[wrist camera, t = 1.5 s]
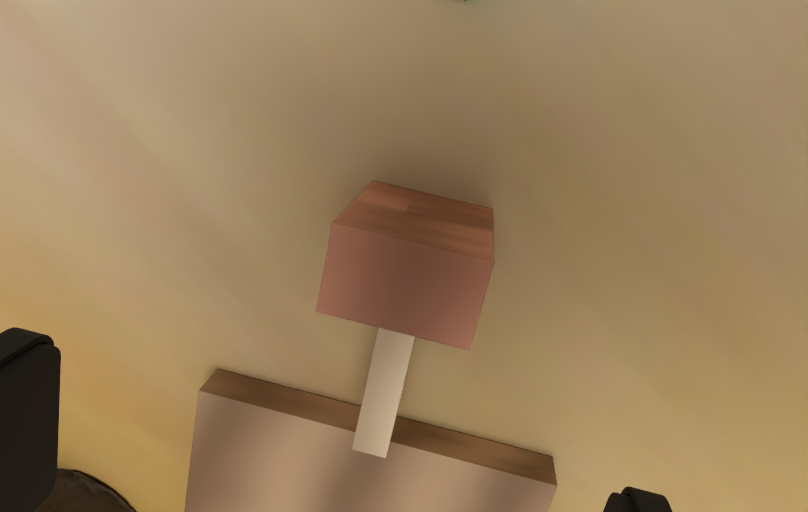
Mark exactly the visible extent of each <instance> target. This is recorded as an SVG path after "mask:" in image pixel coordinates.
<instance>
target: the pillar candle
mask: <svg viewBox="0 0 808 512" xmlns="http://www.w3.org/2000/svg"><path fill="white" fill-rule="evenodd" d="M34 512H134V511H133V509H131V508H129V505H128V504H126V503H125V502H124V501H123V500H122V499H121V498H120V497H119V496H117V495H116V494H115V493H114V492H113V491H111V490H110V489H107V488H105V487H104V486H103V485H100V484H98V482H96V481H95V480H93V479H91V478H90V477H87V476H85V475H84V474H81V473H80V472H74V471H71V470H66V469H57V477H56V482H55V485H54V487H53V489H52V491H51V493H50V495H49V496H48V497H47V499H46V500H45V501H44V502H43V503H42V504H41V505H40V506H39V507H38V508H37V509H36V510H35V511H34Z"/></svg>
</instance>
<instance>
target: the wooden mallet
mask: <svg viewBox="0 0 808 512" xmlns="http://www.w3.org/2000/svg"><path fill="white" fill-rule="evenodd" d="M493 264H494V233H493V209H490V208H486V207H482V206H477V205H473V204H469V203H465V202H461V201H457V200H452V199H448V198H444V197H440V196H436V195H432V194H427V193H423V192H419V191H415V190H411V189H407V188H402V187H398V186H394V185H390V184H386V183H381V182H377V181H373V182H372V183H371V184H370V185H369V186H368V187H367V188H366V189H365V190H364V191H363V192H362V193H361V194H360V195H359V196H358V197H357V198H356V199H355V200H354V201H353V202H352V203H351V204H350V205H349V206H348V207H347V208H346V209H345V210H344V211H343V212H342V213H341V214H340V215H339V216H338V217H337V218H336V219H335V220H334V221H333V222H332V226H331V232H330V237H329V243H328V249H327V254H326V260H325V265H324V271H323V276H322V282H321V287H320V293H319V298H318V304H317V309H316V312H320V313H324V314H328V315H332V316H335V317H339V318H343V319H347V320H351V321H355V322H359V323H363V324H367V325H371V326H375V327H379V328H378V332H377V337H376V341H375V346H374V350H373V355H372V360H371V364H370V369H369V373H368V378H367V382H366V387H365V392H364V396H363V401H362V405H361V410H360V414H359V419H358V423H357V428H356V433H355V437H354V442H353V446H352V449H353V450H357V451H360V452H364V453H368V454H372V455H375V456H379V457H383V458H386V455H387V451H388V448H389V444H390V440H391V436H392V432H393V428H394V424H395V420H396V415H397V411H398V407H399V403H400V399H401V395H402V391H403V387H404V382H405V378H406V374H407V370H408V366H409V362H410V358H411V354H412V349H413V345H414V341H415V337H418V338H422V339H426V340H430V341H434V342H438V343H441V344H445V345H449V346H453V347H457V348H461V349H465V350H469V351H470V347H471V344H472V340H473V337H474V333H475V329H476V326H477V322H478V319H479V315H480V311H481V308H482V304H483V301H484V297H485V293H486V290H487V286H488V282H489V279H490V275H491V272H492V268H493Z"/></svg>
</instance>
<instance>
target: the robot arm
mask: <svg viewBox="0 0 808 512" xmlns="http://www.w3.org/2000/svg"><path fill="white" fill-rule="evenodd" d="M60 363H61V354H60V350H59V349H58V348H57V347H55V346H54V342H53V340H52V338H51V337H49V336H48V335H44V334H40V333H36V332H32V331H29V330H25V329H21V328H10V329H8V330H6V331H4V332H2V333H0V512H34V511H35V510H36V509H37V508H38V507H39V506H40V505H41V504H42V503H43V502H44V501H45V500H46V499H47V497H48V496H49V495H50V493H51V491H52V489H53V487H54V485H55V482H56V477H57V454H58V423H59V393H60ZM603 512H672V510H671V507H670V505H669V503H668V501H667V499H666V497H664V496H663V495H660V494H656V493H652V492H648V491H644V490H640V489H637V488H633V487H625V489H624V490H623V491H622V493H621V494H619V493H615V492H614V493H612V494H611V495H610V496H609V498H608V501H607V503H606V506H605V508H604V511H603Z"/></svg>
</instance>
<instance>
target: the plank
mask: <svg viewBox="0 0 808 512" xmlns="http://www.w3.org/2000/svg"><path fill="white" fill-rule="evenodd" d="M360 410H361V407H360V406H357V405H353V404H349V403H345V402H341V401H338V400H334V399H330V398H326V397H322V396H319V395H315V394H311V393H307V392H303V391H300V390H296V389H292V388H288V387H284V386H281V385H277V384H273V383H269V382H265V381H262V380H258V379H254V378H250V377H246V376H243V375H239V374H235V373H231V372H227V371H224V370H220V369H217V370H216V372H215V373H214V374H213V375H212V376H211V377H210V378H209V379H208V381H207V382H206V383H205V384H204V385H203V386H202V387H201V388H200V390H199V392H198V400H197V409H196V417H195V426H194V435H193V443H192V452H191V460H190V469H189V477H188V486H187V494H186V503H185V512H548V510H549V507H550V505H551V502H552V499H553V496H554V494H555V491H556V488H557V482H556V475H555V469H554V463H553V457H550V456H546V455H542V454H539V453H535V452H531V451H527V450H524V449H520V448H516V447H512V446H508V445H505V444H501V443H497V442H493V441H489V440H486V439H482V438H478V437H474V436H470V435H467V434H463V433H459V432H455V431H451V430H448V429H444V428H440V427H436V426H432V425H429V424H425V423H421V422H417V421H413V420H410V419H406V418H402V417H398V416H396V420H395V424H394V428H393V432H392V436H391V440H390V444H389V448H388V451H387V455H386V458H383V457H379V456H375V455H372V454H368V453H364V452H360V451H357V450H353V449H352V446H353V442H354V437H355V433H356V428H357V423H358V419H359V414H360Z"/></svg>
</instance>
